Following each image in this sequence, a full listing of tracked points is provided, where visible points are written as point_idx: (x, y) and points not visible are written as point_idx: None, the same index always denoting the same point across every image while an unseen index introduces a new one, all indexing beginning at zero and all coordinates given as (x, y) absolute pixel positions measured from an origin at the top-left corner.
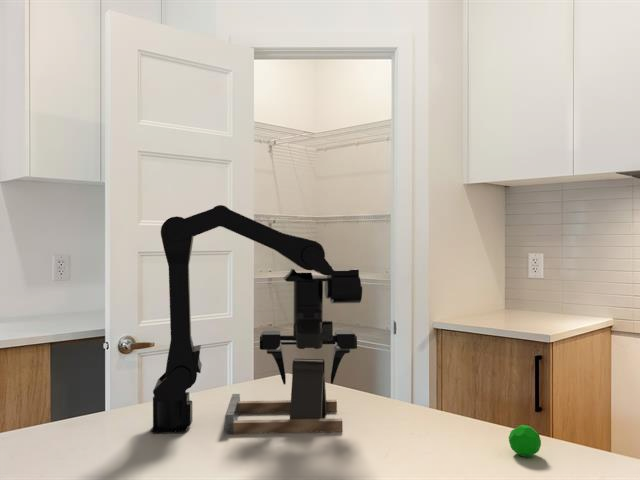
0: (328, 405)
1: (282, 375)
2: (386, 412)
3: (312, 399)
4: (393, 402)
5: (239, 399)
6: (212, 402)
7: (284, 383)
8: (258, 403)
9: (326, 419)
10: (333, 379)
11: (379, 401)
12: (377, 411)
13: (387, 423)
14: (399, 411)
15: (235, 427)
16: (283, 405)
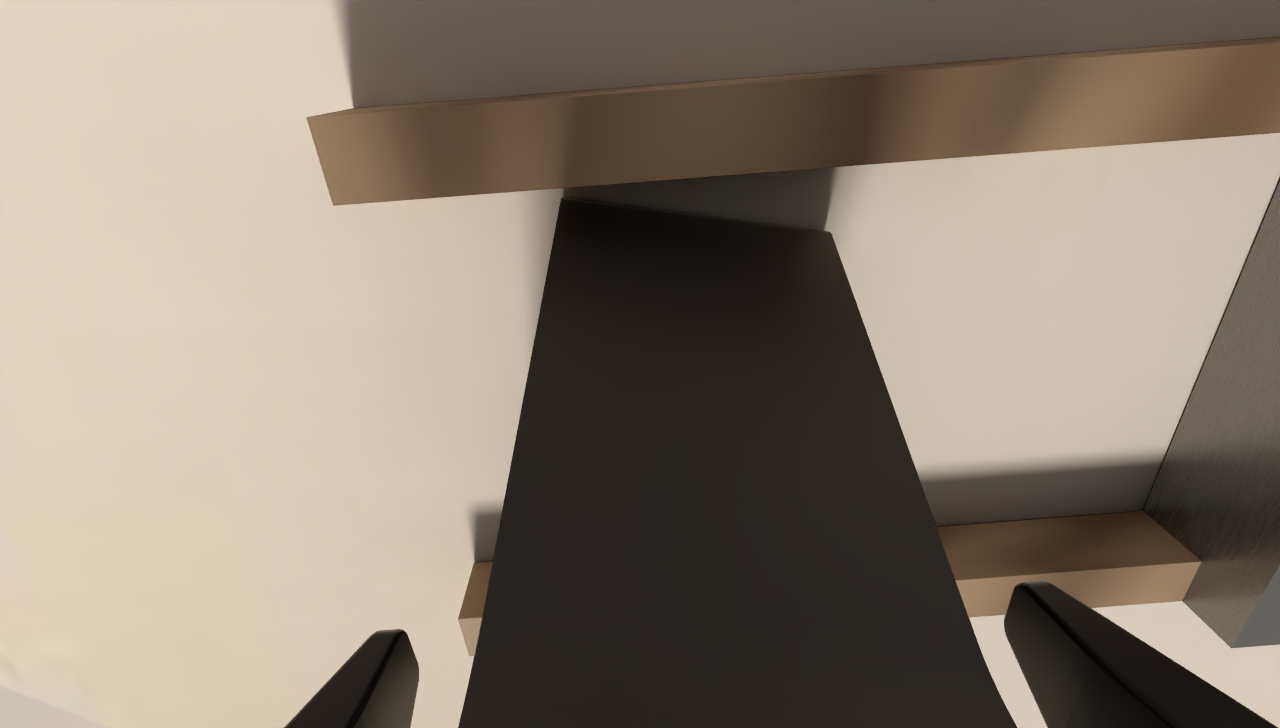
0: None
1: (1174, 677)
2: (116, 556)
3: (640, 379)
4: (133, 712)
5: (1213, 594)
6: (1249, 666)
7: (1040, 587)
8: (1053, 568)
9: (485, 167)
10: (337, 679)
11: (229, 722)
12: (188, 571)
13: (20, 337)
14: (30, 576)
15: None
16: None
